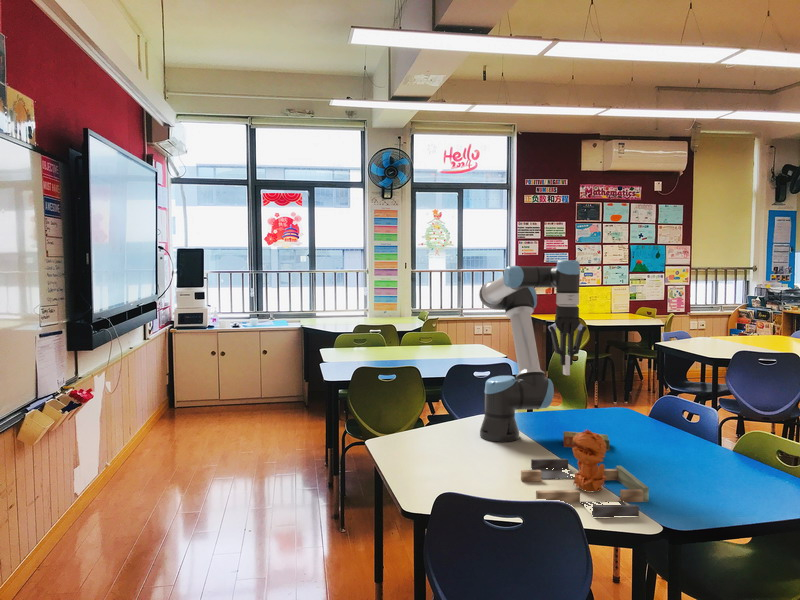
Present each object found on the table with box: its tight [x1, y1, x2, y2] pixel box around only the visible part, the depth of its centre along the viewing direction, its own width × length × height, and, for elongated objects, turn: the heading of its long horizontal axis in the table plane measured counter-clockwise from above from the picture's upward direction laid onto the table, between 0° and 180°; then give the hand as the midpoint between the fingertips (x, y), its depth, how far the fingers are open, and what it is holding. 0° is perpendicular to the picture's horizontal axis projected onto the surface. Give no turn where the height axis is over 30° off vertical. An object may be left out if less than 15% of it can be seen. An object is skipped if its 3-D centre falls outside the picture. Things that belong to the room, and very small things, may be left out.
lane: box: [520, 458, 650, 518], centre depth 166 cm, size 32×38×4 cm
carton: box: [562, 430, 611, 451], centre depth 209 cm, size 8×16×4 cm, turn 75°
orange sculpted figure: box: [571, 428, 608, 492], centre depth 167 cm, size 11×11×18 cm
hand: (566, 374), depth 192 cm, fingers closed
